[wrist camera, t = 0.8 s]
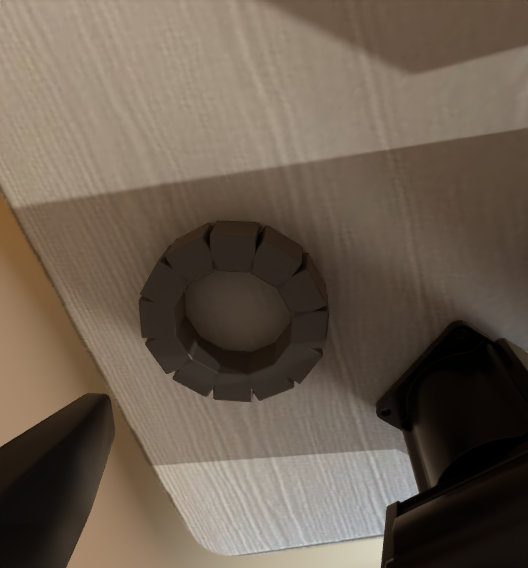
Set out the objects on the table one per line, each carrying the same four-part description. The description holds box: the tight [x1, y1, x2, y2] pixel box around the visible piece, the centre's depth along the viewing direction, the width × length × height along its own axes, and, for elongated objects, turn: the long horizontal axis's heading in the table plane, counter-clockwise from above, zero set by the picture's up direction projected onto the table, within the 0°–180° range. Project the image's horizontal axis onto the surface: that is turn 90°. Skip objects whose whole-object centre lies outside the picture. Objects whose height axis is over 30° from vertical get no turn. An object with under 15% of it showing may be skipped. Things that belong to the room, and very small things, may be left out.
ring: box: [139, 221, 329, 402], centre depth 22 cm, size 8×8×2 cm
